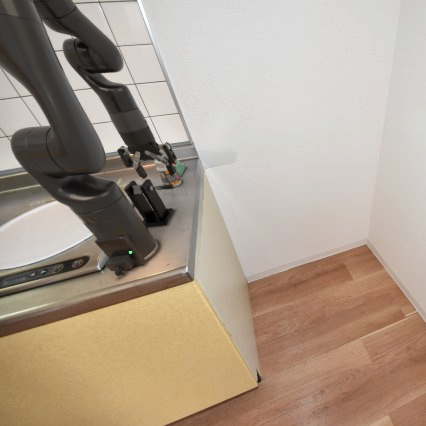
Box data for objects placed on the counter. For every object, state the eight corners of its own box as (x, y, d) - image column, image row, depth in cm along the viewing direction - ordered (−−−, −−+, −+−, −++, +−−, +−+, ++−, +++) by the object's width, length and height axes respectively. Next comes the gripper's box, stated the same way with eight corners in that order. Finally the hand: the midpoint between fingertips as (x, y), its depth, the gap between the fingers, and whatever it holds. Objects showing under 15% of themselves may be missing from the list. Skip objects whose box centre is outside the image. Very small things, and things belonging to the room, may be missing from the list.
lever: (158, 191, 80) (157, 184, 80) (174, 189, 80) (172, 182, 80) (128, 195, 65) (126, 186, 65) (147, 193, 66) (145, 184, 65)
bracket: (151, 213, 76) (129, 178, 68) (174, 210, 77) (155, 176, 68) (141, 228, 71) (117, 192, 62) (166, 225, 71) (145, 189, 63)
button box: (180, 176, 94) (176, 167, 91) (164, 177, 93) (159, 168, 91) (185, 167, 99) (182, 159, 97) (170, 169, 99) (166, 160, 96)
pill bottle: (175, 188, 87) (163, 164, 80) (161, 187, 88) (148, 163, 82) (185, 180, 91) (174, 156, 85) (172, 179, 92) (160, 155, 86)
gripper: (97, 133, 63) (130, 184, 73) (153, 128, 64) (178, 179, 75) (111, 123, 69) (140, 172, 79) (163, 119, 70) (185, 168, 80)
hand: (159, 176), depth 77 cm, fingers open, 8 cm apart
